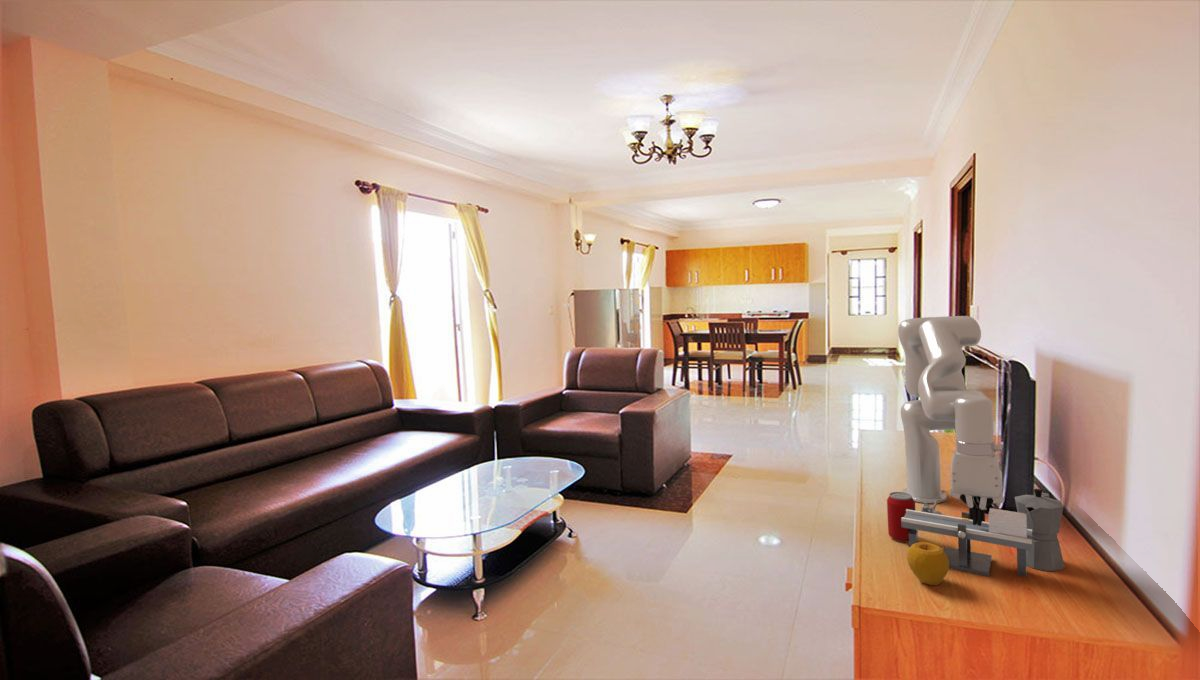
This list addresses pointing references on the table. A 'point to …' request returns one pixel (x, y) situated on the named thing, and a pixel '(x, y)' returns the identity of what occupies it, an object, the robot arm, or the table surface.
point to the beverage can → (898, 514)
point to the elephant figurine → (930, 508)
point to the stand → (971, 554)
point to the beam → (950, 528)
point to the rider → (1008, 523)
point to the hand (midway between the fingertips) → (977, 523)
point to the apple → (928, 562)
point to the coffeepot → (1042, 529)
